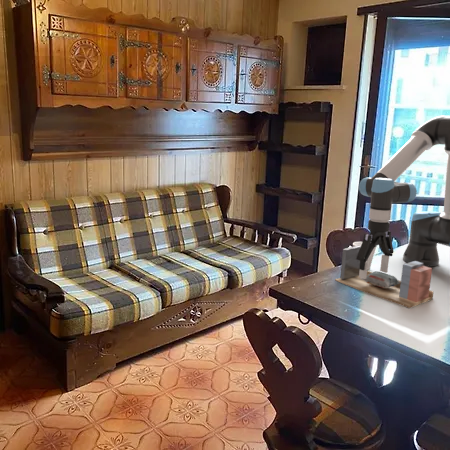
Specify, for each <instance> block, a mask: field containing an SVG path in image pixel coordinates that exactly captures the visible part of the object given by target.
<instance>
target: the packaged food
mask: <svg viewBox="0 0 450 450" xmlns="http://www.w3.org/2000/svg"><path fill="white" fill-rule="evenodd" d="M371 272H372V273H370V274H369V275H367V276H366V279H363V278H361V280H364V281H366V282H367V283H368V284H371V285H374V286H377V287H381V288H389V287H392V286H395V285H397V284H400V282H399V281H400V280H399V279H397V278H396V276H394V275H391V274H388V273H385V272H382V271H377V270H376V271H371ZM398 280H399V281H398Z"/></svg>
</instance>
